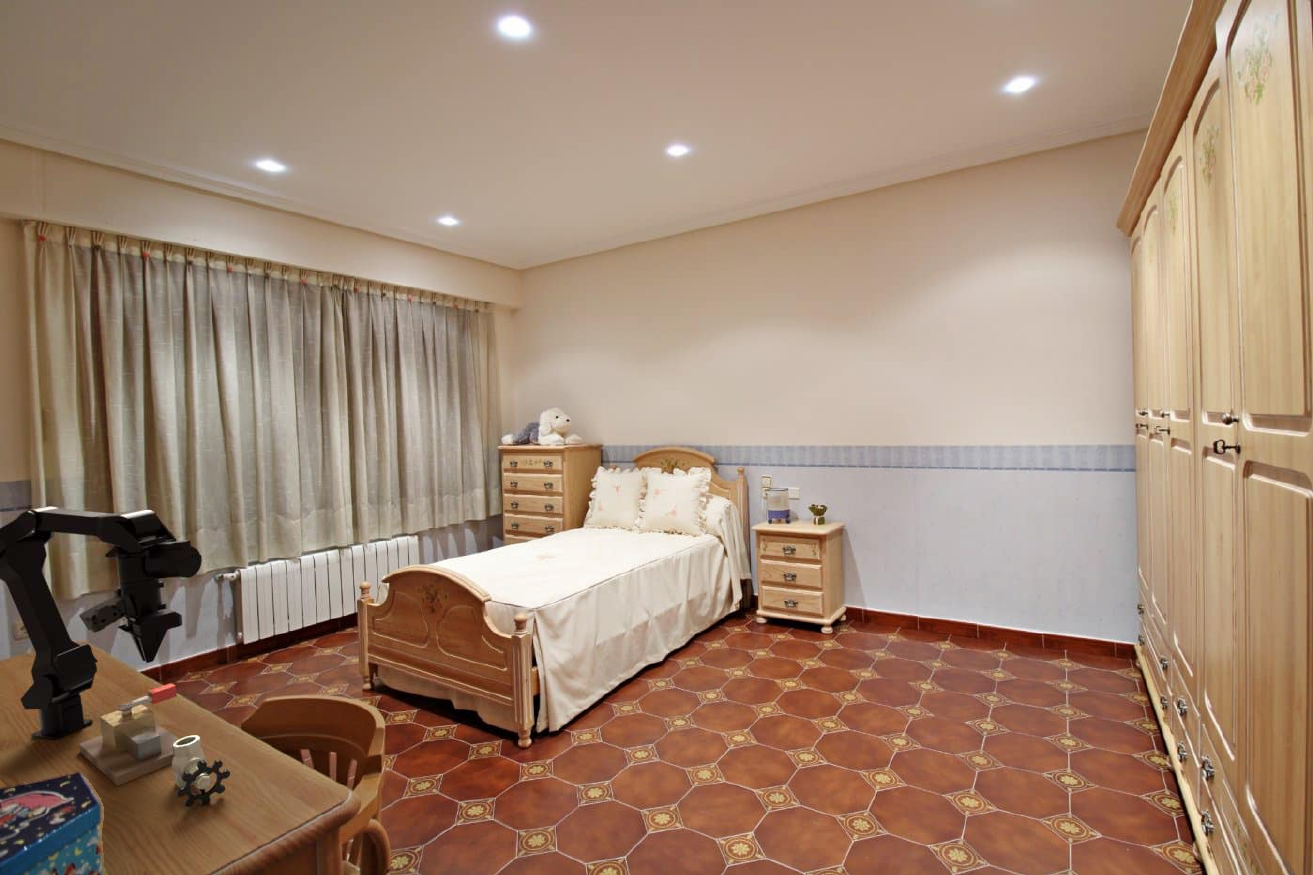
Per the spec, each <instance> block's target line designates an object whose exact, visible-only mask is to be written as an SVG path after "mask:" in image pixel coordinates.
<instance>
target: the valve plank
mask: <svg viewBox="0 0 1313 875" xmlns="http://www.w3.org/2000/svg"><path fill="white" fill-rule="evenodd" d="M155 727H156V733H157V734H159V735H160V741H161V751H162V753H159V754H157V755H154V756H152V757H150V758H147V759H145V760H142V761H138V760H137V759H136V758H134V757H133V756H132V755H131V754H129V753H128V752H127V751H126V752H124V753H121V754H118V755H116V754H114V753H113V752H112V751H111V750H109V749H108V748H107V747H106V746H104V745H103V739H102V734H101V735H99V736H96V737H93V738H91V739H88V740H85V741H82V742H79V743H78V748H79V753H80V754H81V755H83V757H85V758H86V759H87V760H88V761H89V762H90V763H91V764H92V765H94V766H95V767H96V768H97V769H98V770H99V771H100V772H102V773H103V774H104V775H105V776H106V777H107V778H108V779H109V780H111V781H112V782H113V783H114V784H115V785H116V786H118V787H119V786H121V785H123V784H125V783H127V782H128V783H129V782H130V781H133V780H135V779H138V778H140V777H143V776H144V775H147V774H149V773H152V772H154V771H156V770H159V769H161V768H163V767H167V766H168V765H170V764H171V765H172V760H173V757H174V755H173V749H172V744H173V743H175V742H176V741H178V740H180V739H181V738H179V737H177V735H174V734H173V733H171V732H170V731H169V730H168V729H165V728H164V727H162V726H161V725H159V724H158V723H157V722H155Z"/></svg>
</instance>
